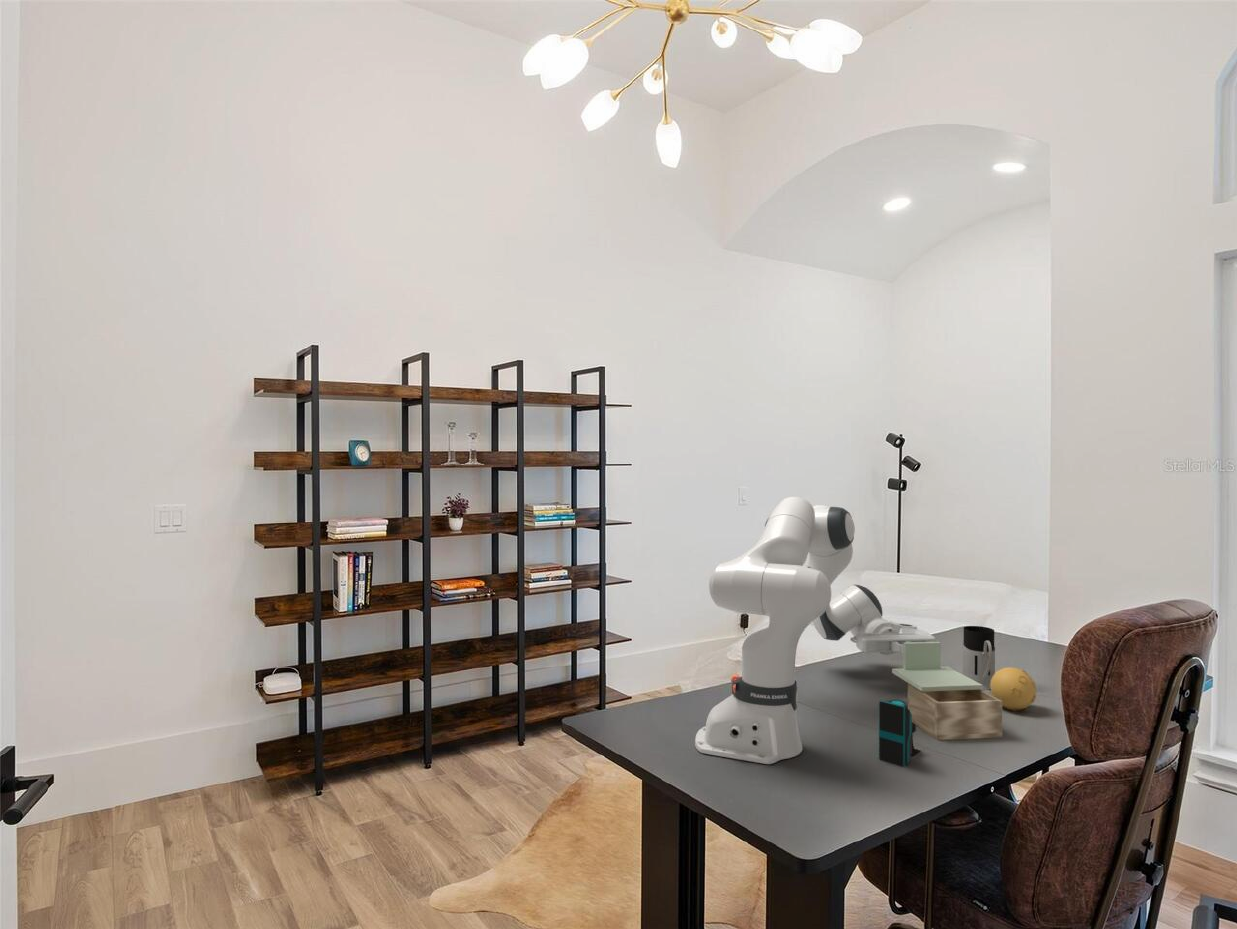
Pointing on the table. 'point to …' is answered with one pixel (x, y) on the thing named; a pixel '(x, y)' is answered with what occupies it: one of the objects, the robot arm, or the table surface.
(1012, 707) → the stress ball
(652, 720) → the table surface
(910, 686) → the wooden box
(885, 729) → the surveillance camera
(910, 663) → the lid
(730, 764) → the table surface
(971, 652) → the glass holder
